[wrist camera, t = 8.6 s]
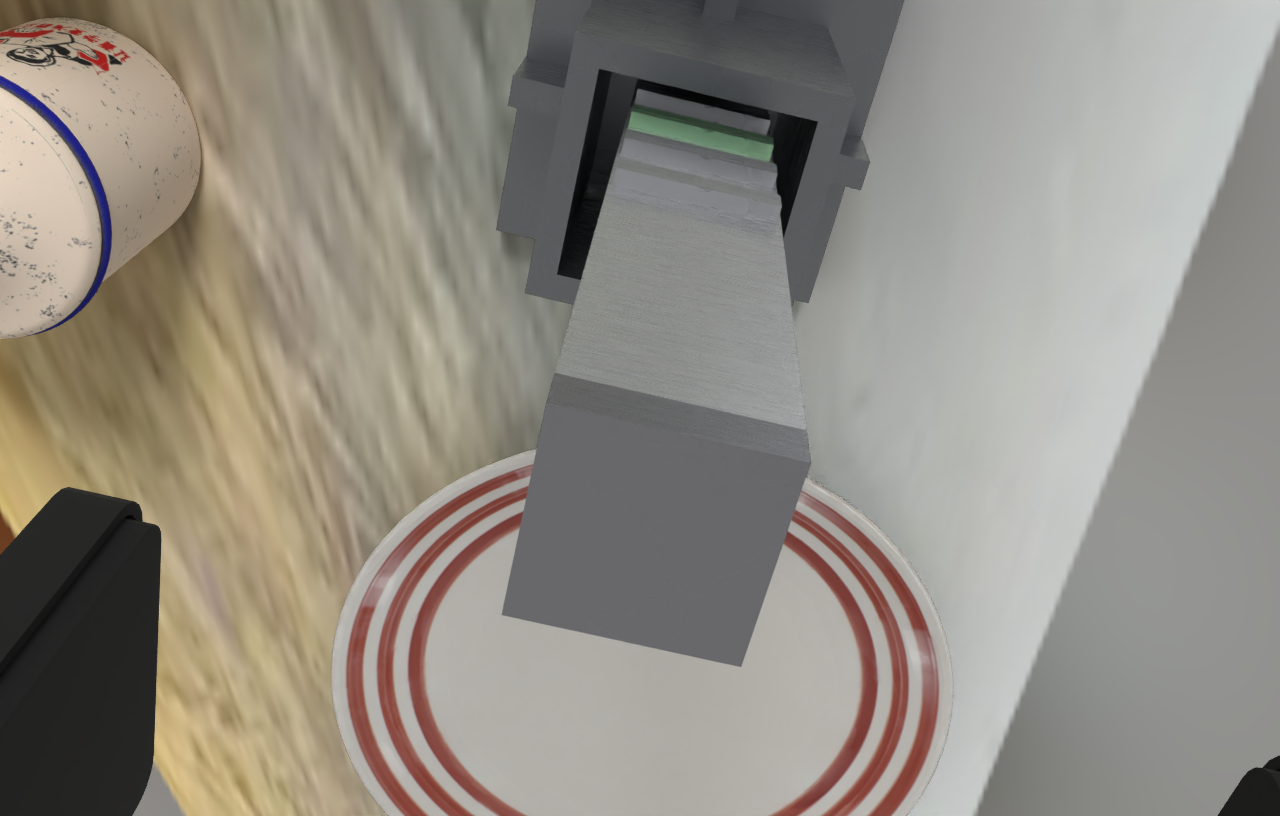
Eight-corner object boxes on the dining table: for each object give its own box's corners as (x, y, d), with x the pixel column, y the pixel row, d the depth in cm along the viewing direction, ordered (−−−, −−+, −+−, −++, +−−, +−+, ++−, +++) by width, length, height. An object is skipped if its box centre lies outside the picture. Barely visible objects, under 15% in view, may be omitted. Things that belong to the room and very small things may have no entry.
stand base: (560, -115, 40) (506, -78, 30) (906, -29, 41) (965, 35, 31) (501, 219, 46) (439, 342, 36) (806, 290, 46) (828, 431, 37)
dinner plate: (659, 277, 47) (655, 312, 44) (1064, 694, 55) (1084, 746, 52) (231, 640, 57) (204, 688, 54) (630, 947, 65) (626, 1003, 62)
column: (640, 65, 36) (550, 379, 17) (770, 96, 36) (818, 440, 18) (607, 215, 38) (497, 633, 20) (730, 243, 38) (734, 685, 20)
